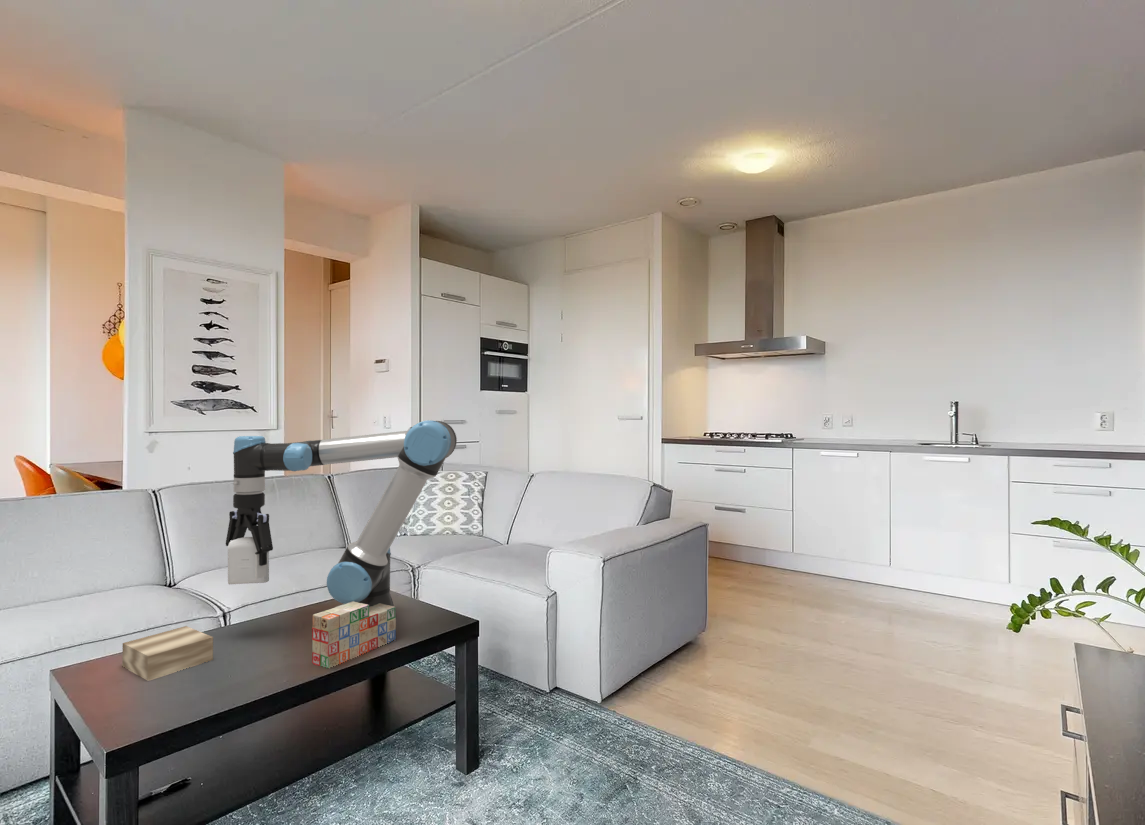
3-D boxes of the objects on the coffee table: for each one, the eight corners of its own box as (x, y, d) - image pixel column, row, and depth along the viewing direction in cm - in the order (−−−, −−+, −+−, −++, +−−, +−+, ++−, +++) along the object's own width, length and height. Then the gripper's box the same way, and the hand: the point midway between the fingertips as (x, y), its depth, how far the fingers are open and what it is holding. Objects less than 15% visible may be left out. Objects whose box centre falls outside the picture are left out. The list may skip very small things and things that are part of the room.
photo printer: (224, 585, 157) (225, 539, 157) (231, 581, 161) (232, 536, 161) (265, 584, 158) (265, 538, 158) (271, 579, 163) (271, 535, 163)
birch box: (212, 661, 146) (213, 637, 146) (148, 682, 134) (148, 656, 134) (185, 649, 153) (186, 626, 153) (122, 668, 142) (122, 643, 142)
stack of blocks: (380, 636, 162) (380, 591, 163) (396, 641, 159) (396, 595, 159) (311, 664, 144) (311, 613, 144) (328, 669, 141) (328, 618, 141)
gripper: (211, 491, 162) (210, 572, 162) (262, 496, 151) (261, 583, 151) (237, 488, 168) (236, 566, 168) (288, 493, 158) (287, 576, 158)
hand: (248, 574), depth 160 cm, fingers closed on photo printer, 9 cm apart
